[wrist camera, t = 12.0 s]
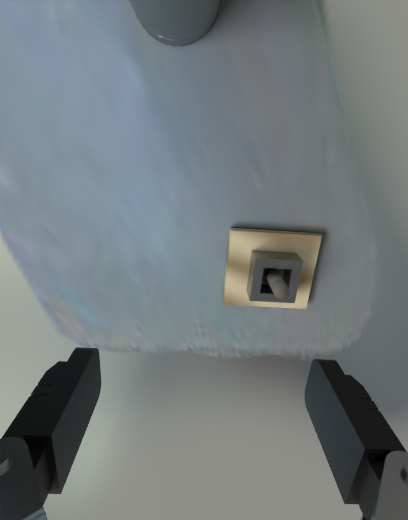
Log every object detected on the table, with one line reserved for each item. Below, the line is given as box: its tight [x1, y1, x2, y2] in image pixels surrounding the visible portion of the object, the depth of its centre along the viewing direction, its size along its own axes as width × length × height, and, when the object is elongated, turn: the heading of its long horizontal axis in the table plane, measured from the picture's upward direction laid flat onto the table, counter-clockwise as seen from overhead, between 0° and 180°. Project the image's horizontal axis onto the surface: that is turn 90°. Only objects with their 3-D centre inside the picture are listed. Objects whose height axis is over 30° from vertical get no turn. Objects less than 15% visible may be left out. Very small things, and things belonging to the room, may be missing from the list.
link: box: [246, 250, 303, 303], centre depth 40 cm, size 6×6×3 cm
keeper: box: [223, 228, 322, 309], centre depth 39 cm, size 11×12×7 cm
